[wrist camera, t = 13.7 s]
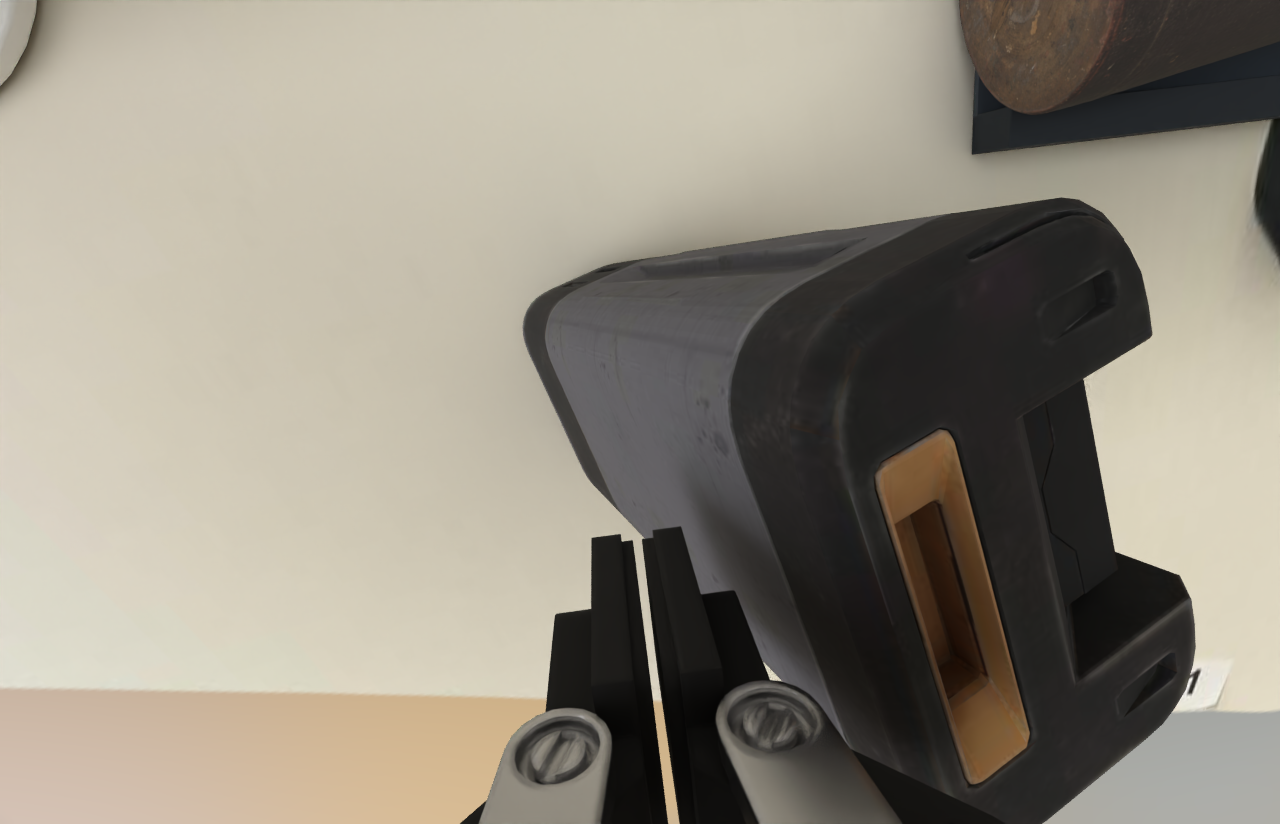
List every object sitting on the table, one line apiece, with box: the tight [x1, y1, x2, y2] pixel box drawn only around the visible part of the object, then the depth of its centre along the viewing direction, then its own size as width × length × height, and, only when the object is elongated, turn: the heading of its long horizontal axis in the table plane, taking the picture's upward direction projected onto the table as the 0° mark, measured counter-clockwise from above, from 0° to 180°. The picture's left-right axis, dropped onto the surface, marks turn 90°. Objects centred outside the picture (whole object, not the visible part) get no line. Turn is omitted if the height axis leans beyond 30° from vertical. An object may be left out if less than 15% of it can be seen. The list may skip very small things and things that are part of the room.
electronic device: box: [523, 198, 1196, 824], centre depth 18 cm, size 9×6×20 cm, turn 22°
